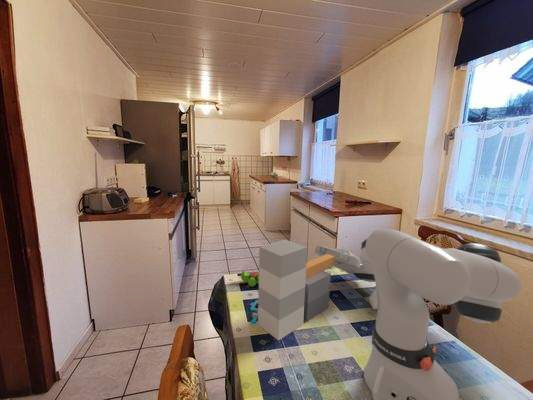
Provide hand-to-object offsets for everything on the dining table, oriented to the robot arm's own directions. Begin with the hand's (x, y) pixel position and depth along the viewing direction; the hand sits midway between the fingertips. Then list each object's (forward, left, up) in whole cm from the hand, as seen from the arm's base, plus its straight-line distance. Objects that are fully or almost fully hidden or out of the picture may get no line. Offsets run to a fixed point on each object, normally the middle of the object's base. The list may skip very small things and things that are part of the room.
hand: (328, 251), depth 100 cm
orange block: (0, +8, -6) cm, 10 cm away
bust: (-17, -12, -20) cm, 29 cm away
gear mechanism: (+11, +24, -21) cm, 34 cm away
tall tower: (0, +26, -20) cm, 33 cm away
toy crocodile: (+25, +14, -21) cm, 35 cm away
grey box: (0, +12, -20) cm, 23 cm away
